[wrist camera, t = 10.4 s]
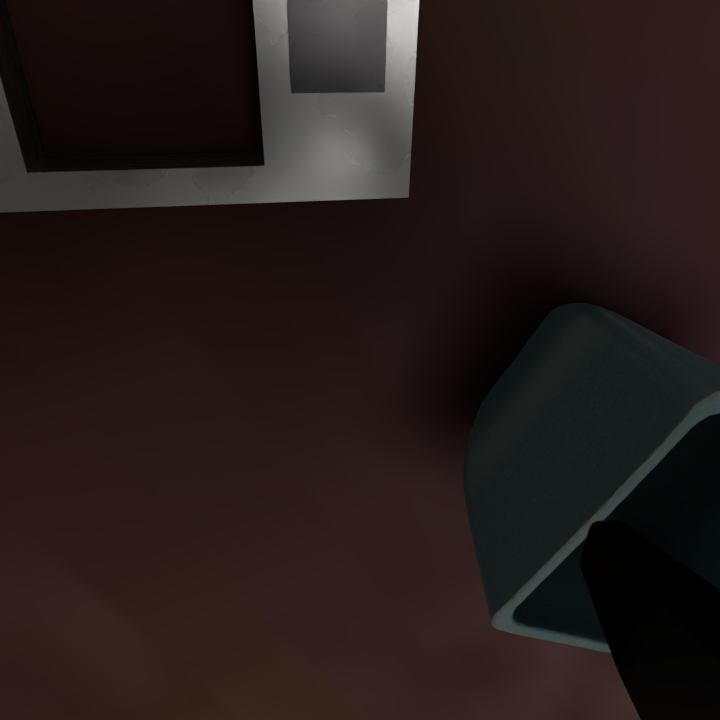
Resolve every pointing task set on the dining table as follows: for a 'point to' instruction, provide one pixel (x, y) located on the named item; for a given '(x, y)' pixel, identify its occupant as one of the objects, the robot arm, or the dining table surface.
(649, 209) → the dining table surface
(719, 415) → the flower pot
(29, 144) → the grey flat frame
